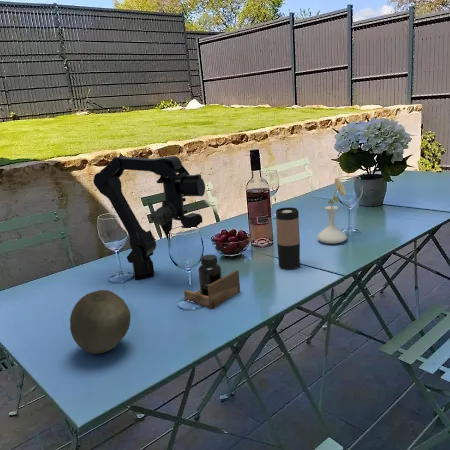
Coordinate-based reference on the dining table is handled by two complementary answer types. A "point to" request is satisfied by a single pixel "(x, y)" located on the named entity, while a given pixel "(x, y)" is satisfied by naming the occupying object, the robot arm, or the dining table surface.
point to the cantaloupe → (99, 321)
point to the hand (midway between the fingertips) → (178, 242)
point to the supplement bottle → (208, 272)
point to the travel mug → (288, 238)
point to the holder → (217, 291)
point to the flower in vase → (333, 220)
